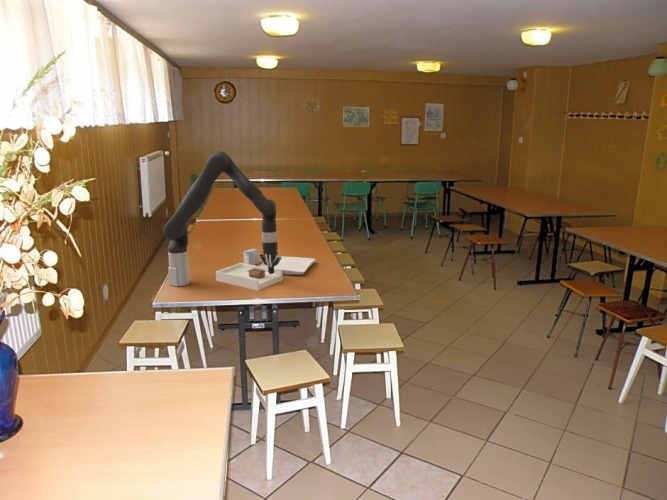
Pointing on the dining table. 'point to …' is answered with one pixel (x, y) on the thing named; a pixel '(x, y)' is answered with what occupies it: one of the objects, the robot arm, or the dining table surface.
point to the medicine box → (251, 256)
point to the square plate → (292, 265)
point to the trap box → (247, 276)
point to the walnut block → (256, 273)
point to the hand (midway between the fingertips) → (271, 273)
